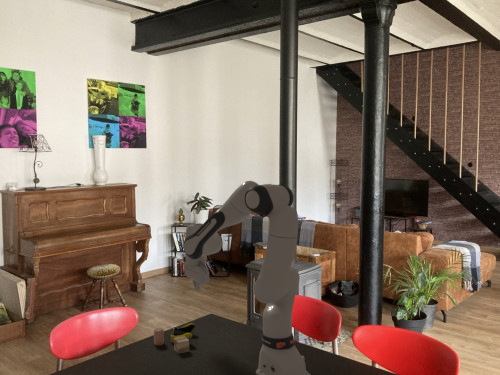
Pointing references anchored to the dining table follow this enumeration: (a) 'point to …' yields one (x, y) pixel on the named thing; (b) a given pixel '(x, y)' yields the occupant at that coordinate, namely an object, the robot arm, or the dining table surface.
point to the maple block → (181, 344)
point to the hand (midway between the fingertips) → (197, 290)
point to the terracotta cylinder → (159, 336)
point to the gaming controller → (183, 332)
